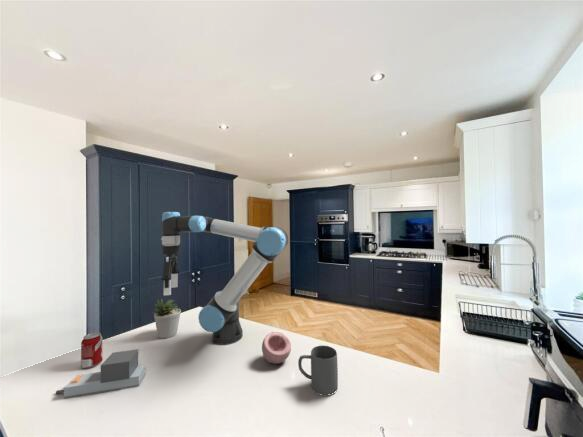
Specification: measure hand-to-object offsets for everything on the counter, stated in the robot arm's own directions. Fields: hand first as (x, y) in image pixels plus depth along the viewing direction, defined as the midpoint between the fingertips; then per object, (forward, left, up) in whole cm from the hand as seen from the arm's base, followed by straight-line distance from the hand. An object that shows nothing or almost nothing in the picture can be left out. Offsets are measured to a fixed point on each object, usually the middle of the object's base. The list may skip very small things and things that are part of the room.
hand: (171, 291), depth 109 cm
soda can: (+29, +4, -27) cm, 40 cm away
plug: (+12, +21, -25) cm, 35 cm away
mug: (-56, +42, -27) cm, 75 cm away
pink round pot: (-45, +23, -27) cm, 57 cm away
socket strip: (+18, +21, -27) cm, 38 cm away
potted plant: (+6, -17, -27) cm, 32 cm away
